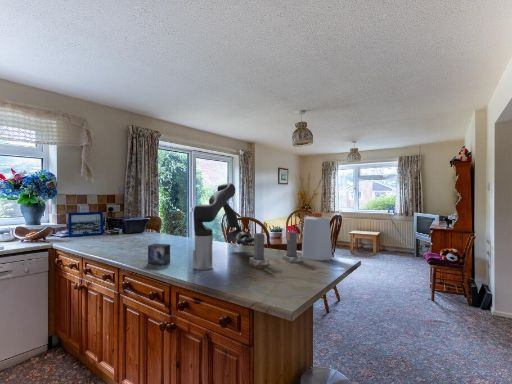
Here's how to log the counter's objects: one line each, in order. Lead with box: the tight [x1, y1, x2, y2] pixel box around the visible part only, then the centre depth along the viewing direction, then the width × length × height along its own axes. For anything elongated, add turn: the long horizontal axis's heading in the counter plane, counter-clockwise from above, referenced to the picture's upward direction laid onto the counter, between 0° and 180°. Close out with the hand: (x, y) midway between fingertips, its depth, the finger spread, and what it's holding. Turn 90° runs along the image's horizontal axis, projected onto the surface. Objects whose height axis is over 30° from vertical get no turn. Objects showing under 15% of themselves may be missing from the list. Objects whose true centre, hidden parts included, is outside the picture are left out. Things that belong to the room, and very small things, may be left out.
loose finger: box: [253, 232, 266, 260], centre depth 150 cm, size 5×4×16 cm
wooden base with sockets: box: [248, 254, 303, 269], centre depth 154 cm, size 28×9×4 cm, turn 111°
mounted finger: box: [285, 230, 298, 257], centre depth 157 cm, size 5×4×16 cm
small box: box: [147, 243, 171, 266], centre depth 155 cm, size 11×6×10 cm, turn 76°
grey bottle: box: [301, 211, 333, 261], centre depth 167 cm, size 15×15×28 cm
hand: (252, 242), depth 160 cm, fingers open, 8 cm apart
